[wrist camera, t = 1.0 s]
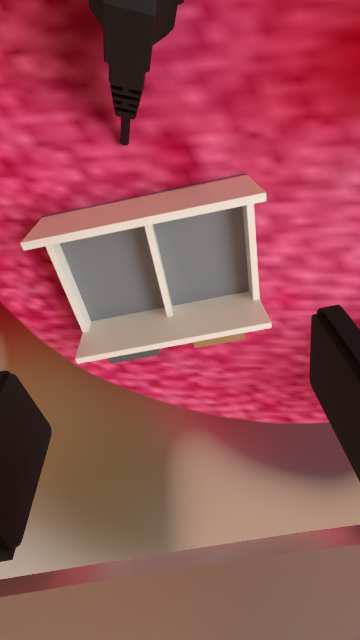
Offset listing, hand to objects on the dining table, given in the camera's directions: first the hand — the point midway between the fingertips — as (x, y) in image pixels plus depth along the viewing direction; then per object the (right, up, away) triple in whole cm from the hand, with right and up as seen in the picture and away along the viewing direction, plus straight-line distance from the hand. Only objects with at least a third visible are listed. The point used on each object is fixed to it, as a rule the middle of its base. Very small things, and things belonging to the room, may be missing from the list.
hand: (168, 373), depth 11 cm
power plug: (-4, +18, +17) cm, 25 cm away
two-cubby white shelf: (-2, +8, +22) cm, 23 cm away
